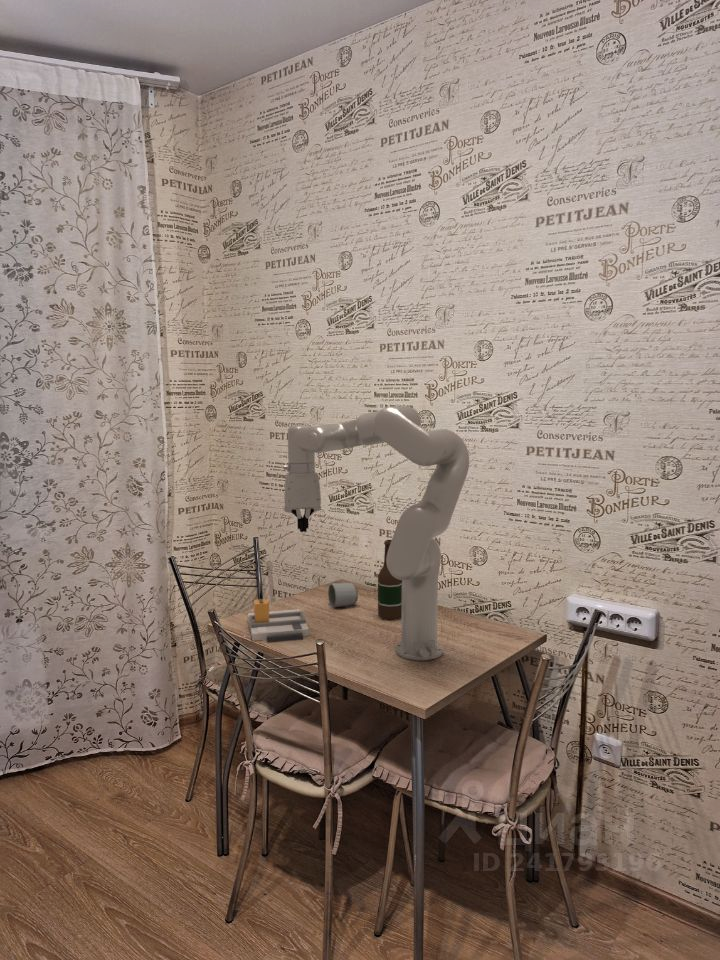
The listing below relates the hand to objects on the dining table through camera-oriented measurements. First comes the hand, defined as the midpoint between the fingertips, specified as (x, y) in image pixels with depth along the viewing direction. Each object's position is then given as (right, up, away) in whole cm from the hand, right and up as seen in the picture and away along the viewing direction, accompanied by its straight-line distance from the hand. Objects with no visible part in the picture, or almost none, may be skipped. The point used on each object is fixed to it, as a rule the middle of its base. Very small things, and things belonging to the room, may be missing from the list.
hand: (303, 531), depth 198 cm
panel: (-8, -29, +4) cm, 30 cm away
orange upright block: (-12, -27, +3) cm, 30 cm away
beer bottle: (+26, -28, +13) cm, 40 cm away
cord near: (-5, -30, -6) cm, 31 cm away
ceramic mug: (+10, -26, +25) cm, 38 cm away
